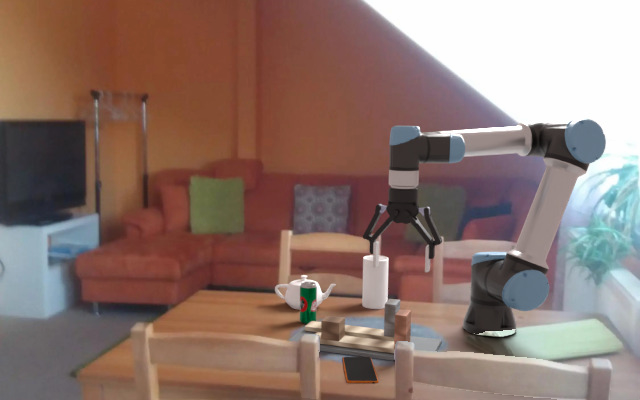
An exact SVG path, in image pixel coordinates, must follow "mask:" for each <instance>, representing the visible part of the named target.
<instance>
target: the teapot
mask: <svg viewBox="0 0 640 400" xmlns="http://www.w3.org/2000/svg"><path fill="white" fill-rule="evenodd" d="M300 278H301V279H295V280H292V281H290V282H289V283H283V284H282V283H281V284H277V285H276V286H274V292H275V294H276V295H277V296H278V297H279V298H281V299H283V300H285V303H286V304H287V305H288V306H289V307H290V308H291V309H294V310H299V311H300V286H301V283H302V282H306V281H310V282H315V283H316V286H317V308H318V306H319V305H321V304H322V303H323V301H324V300H326V299H327V298H328V297H329V296H330V295H331V292H332V290H333V288H334V287H335V286H336V285H337V284H336V283H331V284H329V286H328V288H327V289H326V291H325V292H322V289H321V286H320V284H319V282H318V281H316V280H313V279H307V278H308V275H305V274H303V275H302V274H301V275H300ZM279 288H286V291H285V294H282V293H281V292H280V290H279Z"/></svg>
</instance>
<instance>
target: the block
mask: <svg viewBox="0 0 640 400" xmlns="http://www.w3.org/2000/svg"><path fill="white" fill-rule="evenodd" d="M320 322H321V339H325V340H332V341H340V340H341V339H342V338H343V337H344V336H345V325H346V318H345V317H340V316H333V315H332V316H331V315H327V316H325V317H324V318H323V319H322V320H321V321H320Z"/></svg>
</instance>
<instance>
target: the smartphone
mask: <svg viewBox="0 0 640 400" xmlns="http://www.w3.org/2000/svg"><path fill="white" fill-rule="evenodd" d="M342 363H343V369H344V371H343V372H344V375H345V379H346V383H348V384H373V383H374V384H378V383H379V379H378V375H377V372H376V369H375V366H374V362H373V358H371V357H363V356H343V357H342Z"/></svg>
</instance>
